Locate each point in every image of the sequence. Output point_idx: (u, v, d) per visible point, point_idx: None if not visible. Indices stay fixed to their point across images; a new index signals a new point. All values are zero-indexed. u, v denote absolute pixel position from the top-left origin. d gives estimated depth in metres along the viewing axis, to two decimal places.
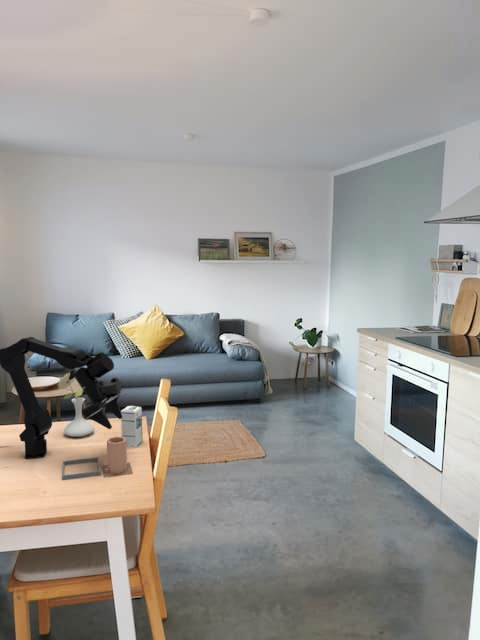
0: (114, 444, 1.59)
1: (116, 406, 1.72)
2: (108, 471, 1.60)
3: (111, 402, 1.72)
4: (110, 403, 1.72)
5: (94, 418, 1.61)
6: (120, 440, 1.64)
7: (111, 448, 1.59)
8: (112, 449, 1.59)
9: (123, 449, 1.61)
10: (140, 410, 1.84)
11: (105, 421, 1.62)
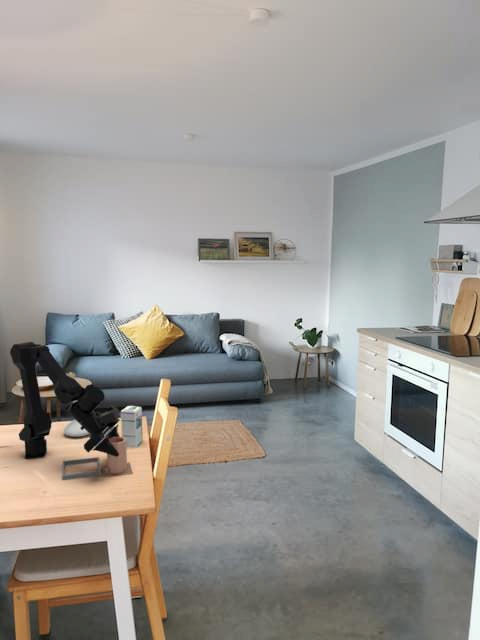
0: (114, 444, 1.59)
1: (116, 436, 1.65)
2: (108, 471, 1.60)
3: (110, 433, 1.65)
4: (109, 435, 1.65)
5: (99, 448, 1.57)
6: (120, 440, 1.64)
7: None
8: None
9: (123, 449, 1.61)
10: (140, 410, 1.84)
11: (111, 449, 1.58)
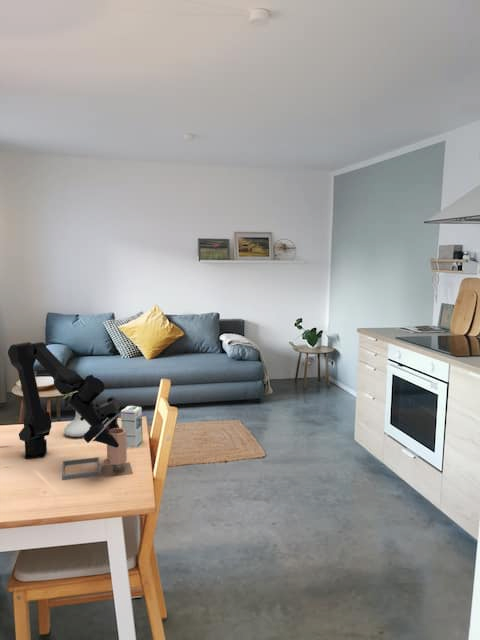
0: (114, 435, 1.59)
1: (116, 427, 1.65)
2: (108, 462, 1.60)
3: (110, 424, 1.65)
4: (109, 426, 1.65)
5: (99, 439, 1.57)
6: (120, 431, 1.64)
7: None
8: None
9: (123, 440, 1.60)
10: (140, 410, 1.84)
11: (111, 440, 1.57)
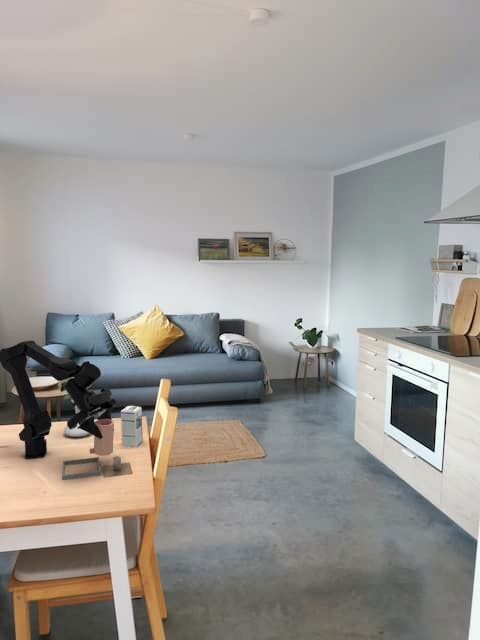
0: (99, 426, 1.58)
1: None
2: (92, 451, 1.61)
3: (103, 415, 1.65)
4: (102, 416, 1.65)
5: (84, 428, 1.58)
6: (110, 423, 1.63)
7: None
8: None
9: (108, 433, 1.59)
10: (140, 410, 1.84)
11: (95, 430, 1.57)
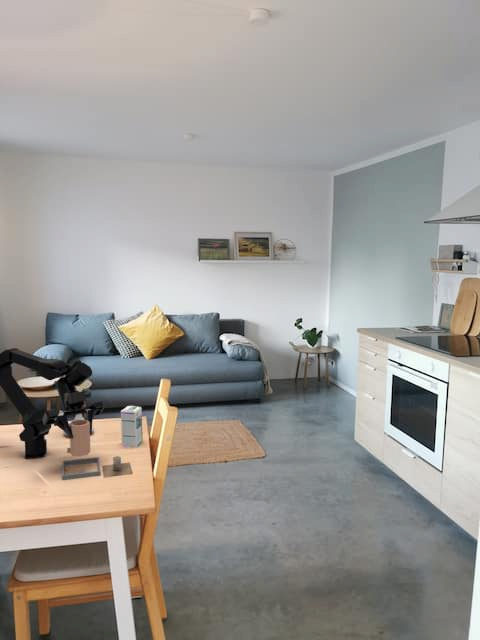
0: (71, 426, 1.58)
1: (88, 420, 1.63)
2: (69, 451, 1.61)
3: (86, 416, 1.65)
4: (86, 417, 1.65)
5: (60, 425, 1.60)
6: None
7: None
8: None
9: (79, 433, 1.58)
10: (140, 410, 1.84)
11: (66, 429, 1.58)
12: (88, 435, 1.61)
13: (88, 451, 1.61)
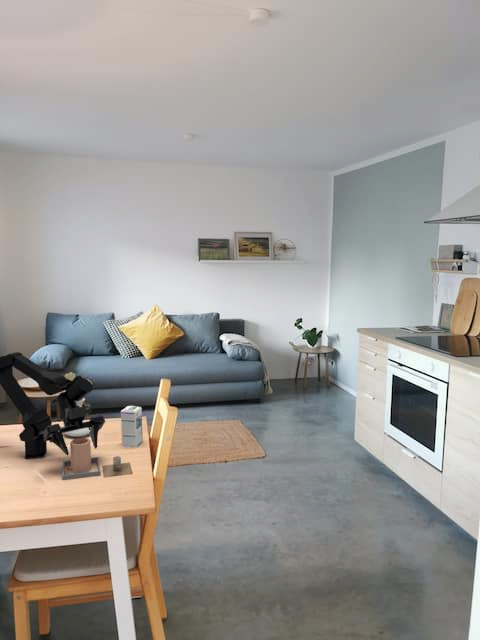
0: (72, 445, 1.59)
1: (93, 434, 1.65)
2: (70, 469, 1.62)
3: (91, 430, 1.66)
4: (91, 431, 1.67)
5: (56, 442, 1.60)
6: None
7: (70, 447, 1.60)
8: (71, 449, 1.60)
9: (79, 452, 1.59)
10: (140, 410, 1.84)
11: (62, 446, 1.58)
12: (89, 454, 1.61)
13: (89, 469, 1.62)
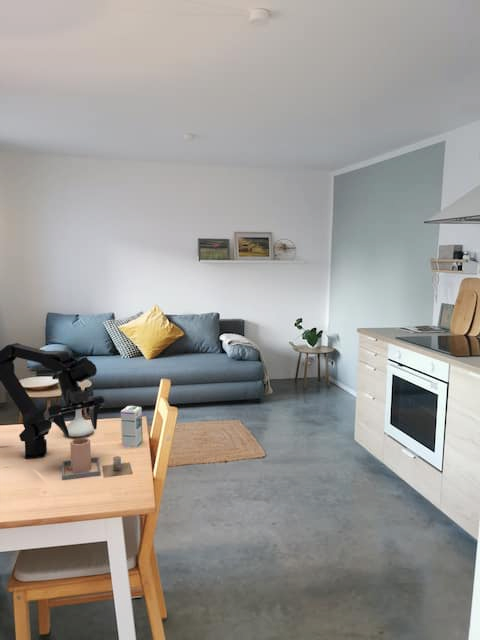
0: (72, 445, 1.59)
1: (93, 415, 1.67)
2: (70, 469, 1.62)
3: (91, 410, 1.68)
4: (91, 411, 1.68)
5: (56, 422, 1.62)
6: None
7: (70, 447, 1.60)
8: (71, 449, 1.60)
9: (79, 452, 1.59)
10: (140, 410, 1.84)
11: (62, 428, 1.60)
12: (89, 454, 1.61)
13: (89, 469, 1.62)
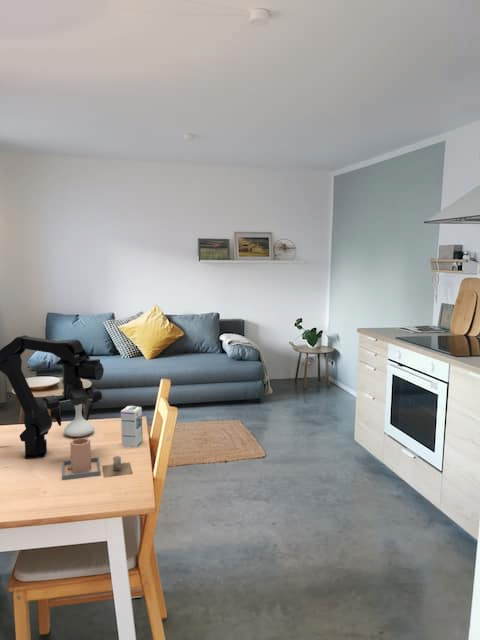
0: (72, 445, 1.59)
1: (87, 408, 1.73)
2: (70, 469, 1.62)
3: (87, 402, 1.73)
4: (86, 401, 1.74)
5: None
6: None
7: (70, 447, 1.60)
8: (71, 449, 1.60)
9: (79, 452, 1.59)
10: (140, 410, 1.84)
11: (56, 418, 1.67)
12: (89, 454, 1.61)
13: (89, 469, 1.62)
